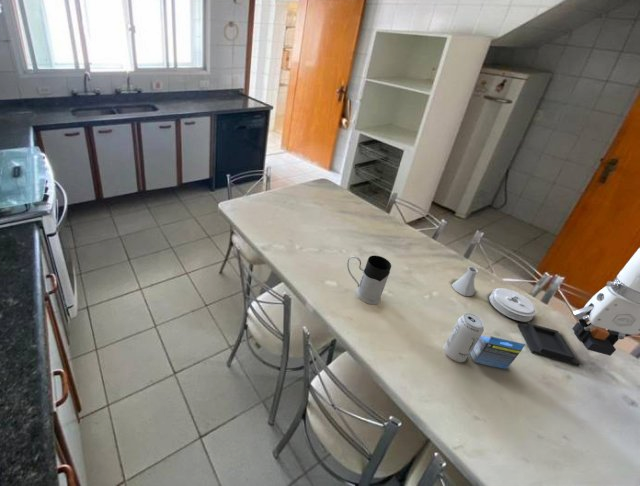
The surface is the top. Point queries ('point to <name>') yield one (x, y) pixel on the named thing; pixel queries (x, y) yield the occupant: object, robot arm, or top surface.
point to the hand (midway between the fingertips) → (591, 340)
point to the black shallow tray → (547, 343)
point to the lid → (512, 304)
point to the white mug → (372, 279)
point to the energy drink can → (464, 337)
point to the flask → (466, 282)
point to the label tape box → (496, 351)
